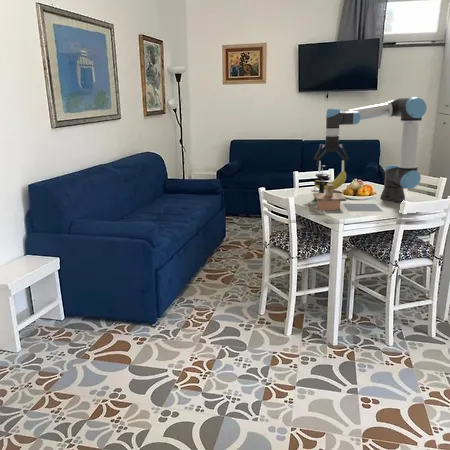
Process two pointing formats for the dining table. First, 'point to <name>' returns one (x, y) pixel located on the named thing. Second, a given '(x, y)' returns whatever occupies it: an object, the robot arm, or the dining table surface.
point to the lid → (329, 195)
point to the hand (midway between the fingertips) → (331, 171)
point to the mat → (362, 207)
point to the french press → (321, 182)
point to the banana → (336, 181)
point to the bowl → (328, 205)
